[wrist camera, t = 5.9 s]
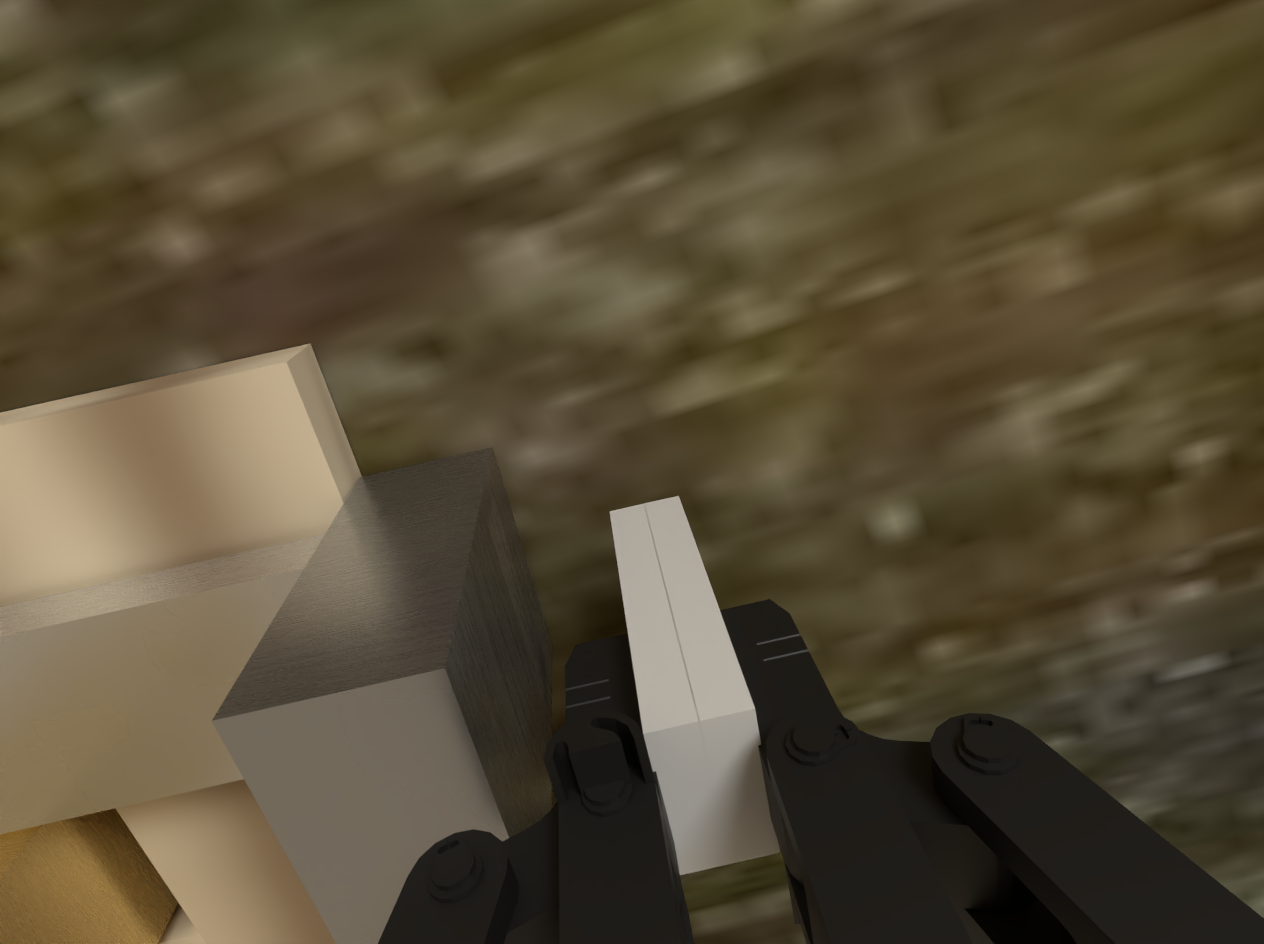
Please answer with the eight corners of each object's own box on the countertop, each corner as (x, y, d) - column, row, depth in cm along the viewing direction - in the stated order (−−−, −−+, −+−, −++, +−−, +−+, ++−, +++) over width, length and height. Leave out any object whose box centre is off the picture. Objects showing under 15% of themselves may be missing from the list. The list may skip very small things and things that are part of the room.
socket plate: (310, 343, 15) (286, 362, 14) (560, 991, 24) (561, 1041, 23) (-735, 576, 15) (-862, 618, 14) (-100, 1142, 24) (-140, 1202, 23)
